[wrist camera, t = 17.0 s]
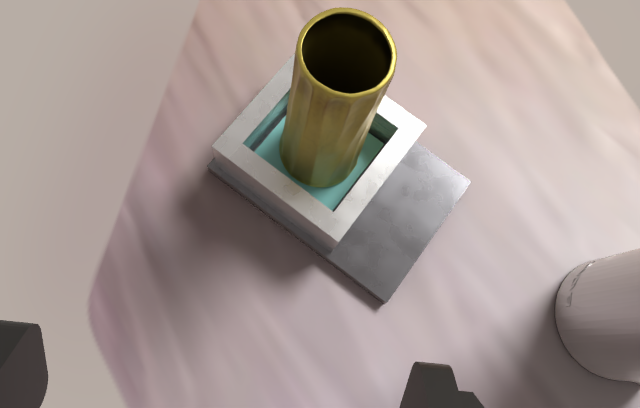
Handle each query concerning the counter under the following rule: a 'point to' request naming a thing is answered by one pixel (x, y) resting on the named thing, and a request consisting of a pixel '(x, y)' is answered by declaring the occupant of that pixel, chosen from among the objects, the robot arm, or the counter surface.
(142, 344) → the counter surface
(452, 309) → the counter surface
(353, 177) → the plate
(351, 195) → the grey tray
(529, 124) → the counter surface
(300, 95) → the vase
